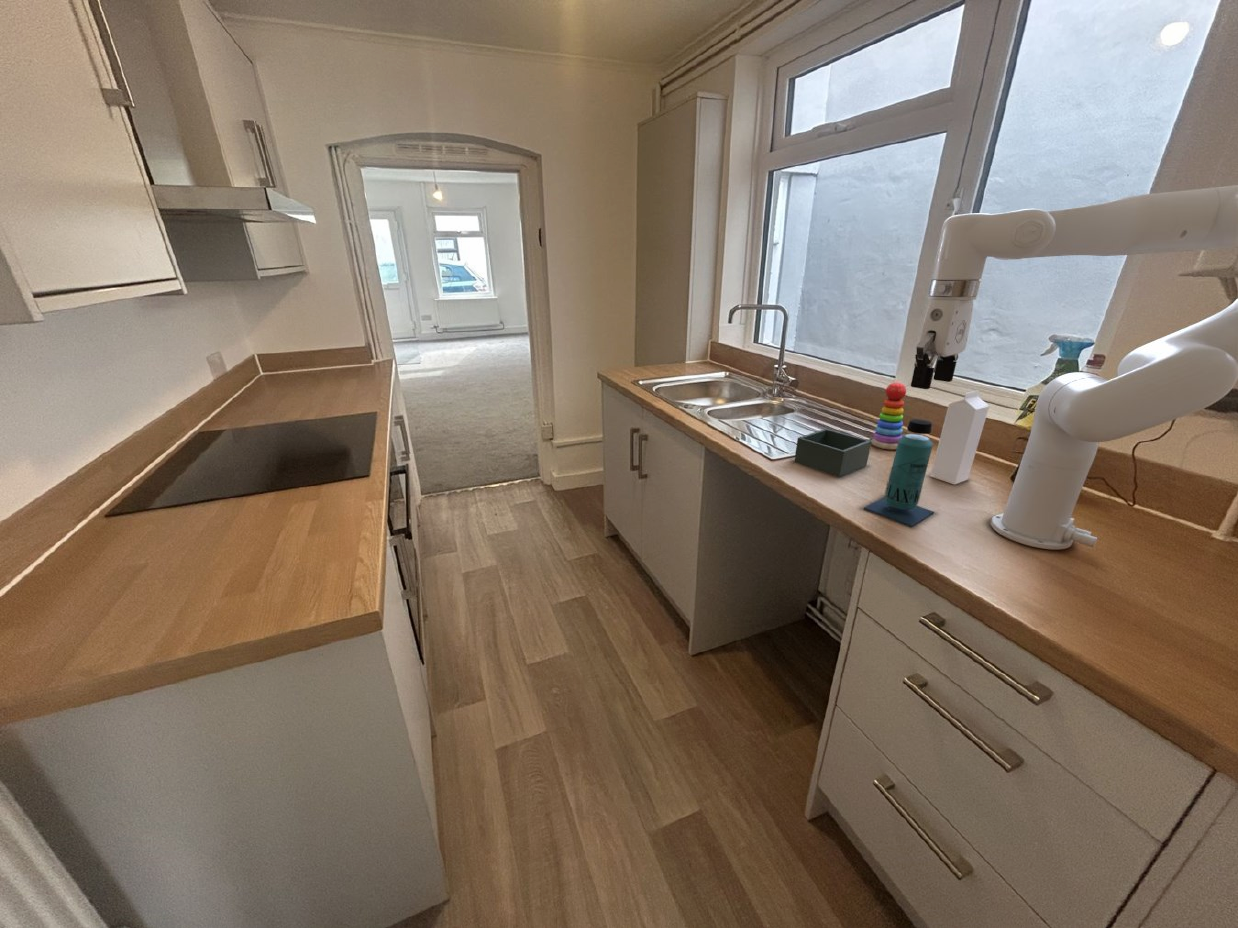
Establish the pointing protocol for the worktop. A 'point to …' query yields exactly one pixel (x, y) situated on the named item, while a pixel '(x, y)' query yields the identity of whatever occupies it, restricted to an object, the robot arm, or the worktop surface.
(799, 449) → the basket
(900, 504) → the beverage bottle
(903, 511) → the mat
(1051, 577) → the worktop surface
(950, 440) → the milk
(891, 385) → the stacking toy
